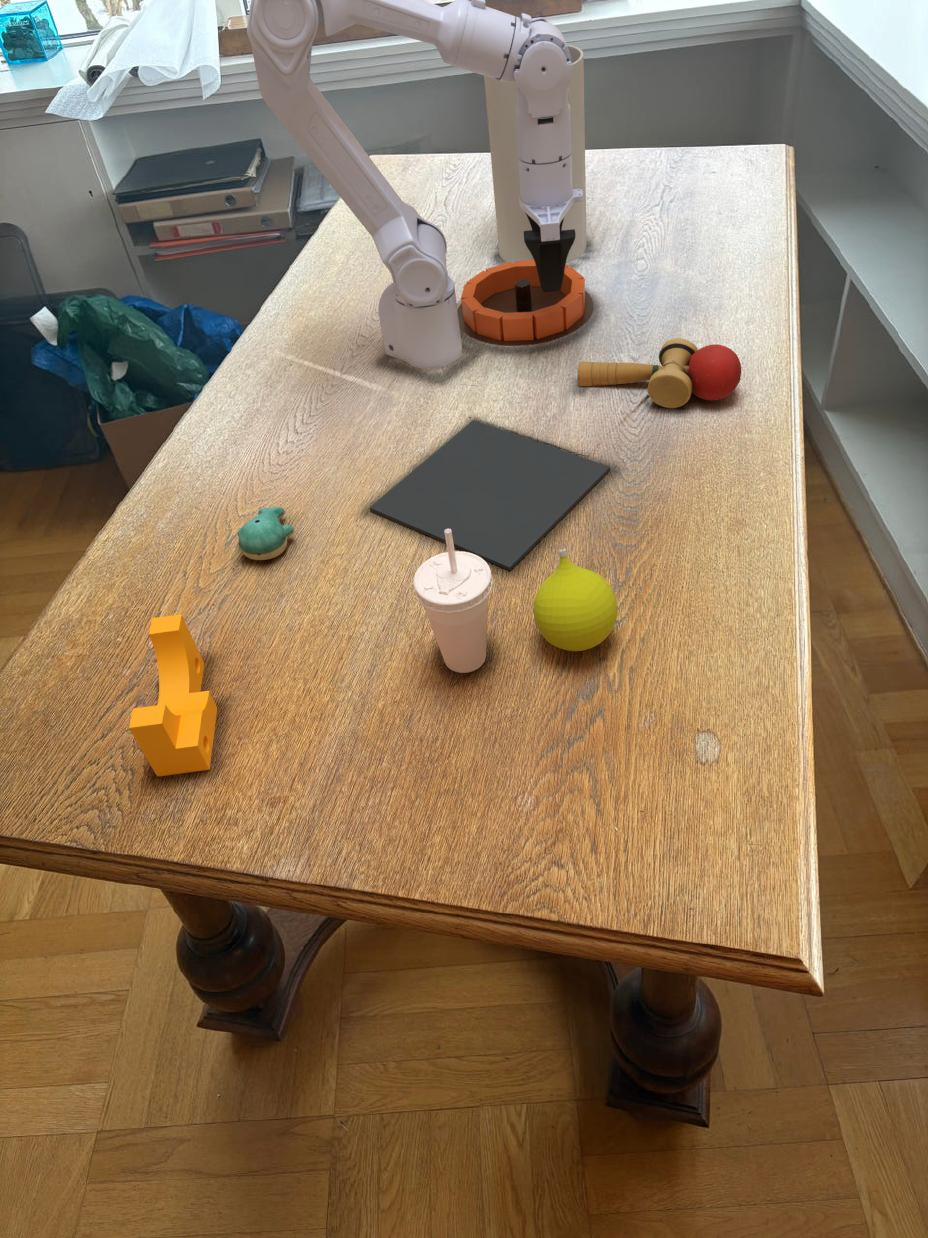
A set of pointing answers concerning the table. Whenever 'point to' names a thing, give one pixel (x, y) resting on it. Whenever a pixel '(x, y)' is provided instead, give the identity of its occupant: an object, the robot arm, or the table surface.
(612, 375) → the kendama
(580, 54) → the cylinder vase
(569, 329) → the round disc
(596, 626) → the ornament
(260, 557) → the whale figurine
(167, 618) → the pipe clamp
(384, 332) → the robot arm
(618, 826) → the table surface
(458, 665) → the smoothie
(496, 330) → the ring
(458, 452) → the mat
